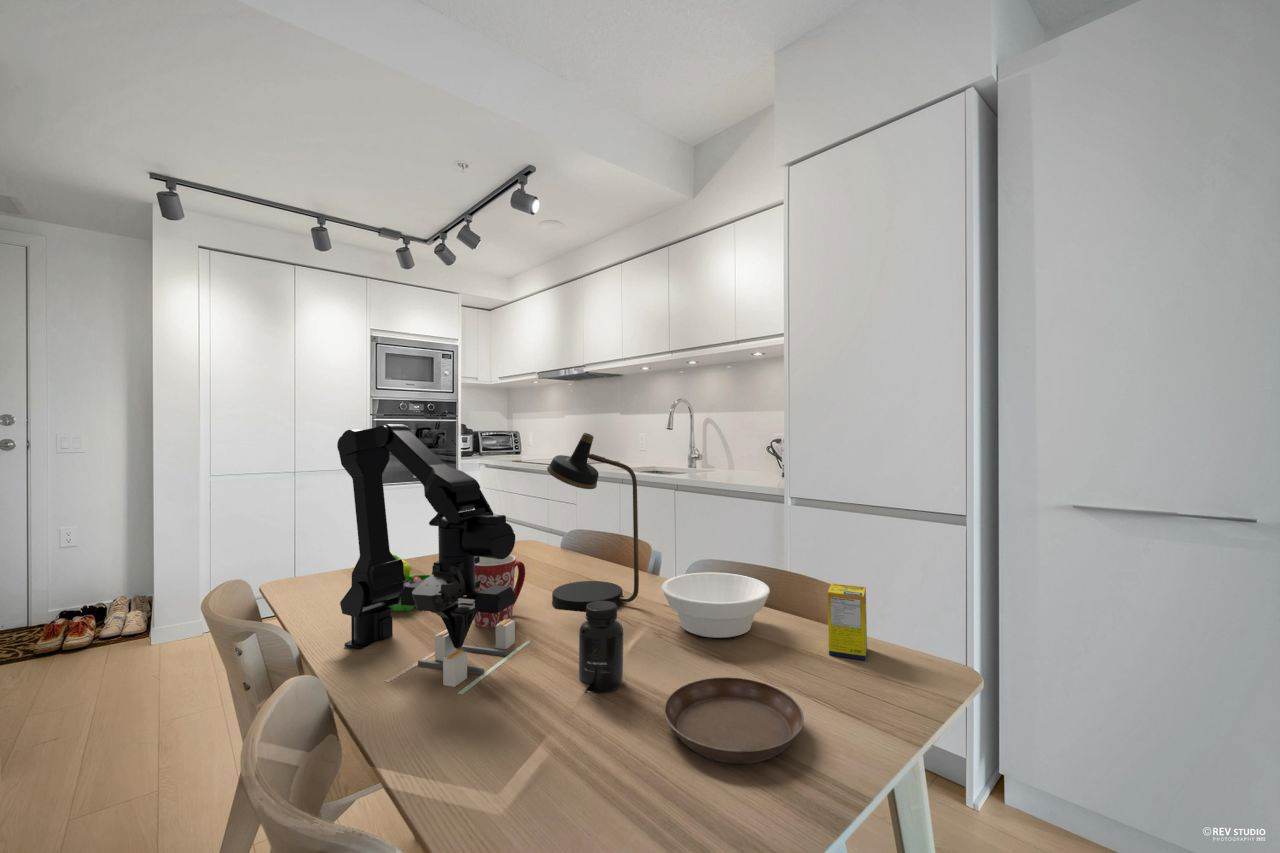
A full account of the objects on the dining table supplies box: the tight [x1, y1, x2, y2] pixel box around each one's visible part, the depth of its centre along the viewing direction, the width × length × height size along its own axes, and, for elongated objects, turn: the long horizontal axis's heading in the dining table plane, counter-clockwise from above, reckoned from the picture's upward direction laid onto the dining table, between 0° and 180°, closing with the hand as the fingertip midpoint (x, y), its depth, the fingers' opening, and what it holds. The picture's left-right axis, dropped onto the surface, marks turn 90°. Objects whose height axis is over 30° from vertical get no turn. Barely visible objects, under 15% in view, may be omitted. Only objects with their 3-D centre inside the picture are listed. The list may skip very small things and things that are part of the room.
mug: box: [473, 554, 526, 628], centre depth 108 cm, size 13×9×14 cm
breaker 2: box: [495, 618, 516, 651], centre depth 94 cm, size 2×3×4 cm, turn 163°
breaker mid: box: [434, 628, 457, 662], centre depth 89 cm, size 2×3×4 cm, turn 163°
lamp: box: [546, 432, 640, 613], centre depth 121 cm, size 16×22×38 cm
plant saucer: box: [663, 676, 805, 765], centre depth 69 cm, size 18×18×3 cm
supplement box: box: [827, 583, 868, 661], centre depth 93 cm, size 6×6×11 cm
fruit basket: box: [389, 554, 432, 612], centre depth 121 cm, size 11×9×11 cm
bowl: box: [661, 572, 771, 639], centre depth 105 cm, size 21×21×8 cm
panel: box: [384, 632, 532, 695], centre depth 88 cm, size 14×22×2 cm, turn 163°
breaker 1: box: [442, 649, 468, 688], centre depth 80 cm, size 2×3×4 cm, turn 163°
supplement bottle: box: [578, 601, 624, 694], centre depth 82 cm, size 7×7×12 cm
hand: (458, 647), depth 89 cm, fingers closed
